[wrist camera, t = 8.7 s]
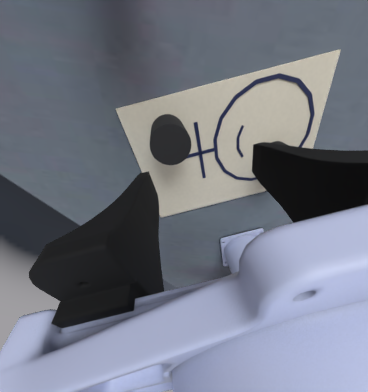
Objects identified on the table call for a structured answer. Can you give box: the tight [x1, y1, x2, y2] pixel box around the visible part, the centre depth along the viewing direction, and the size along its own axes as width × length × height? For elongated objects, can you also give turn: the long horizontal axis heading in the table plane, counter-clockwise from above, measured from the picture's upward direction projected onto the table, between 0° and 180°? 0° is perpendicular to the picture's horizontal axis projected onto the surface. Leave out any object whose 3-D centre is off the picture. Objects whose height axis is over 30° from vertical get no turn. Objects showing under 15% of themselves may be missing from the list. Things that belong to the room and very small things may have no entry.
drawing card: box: [116, 50, 340, 217], centre depth 20 cm, size 15×22×1 cm
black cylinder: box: [150, 114, 191, 165], centre depth 16 cm, size 4×4×4 cm
